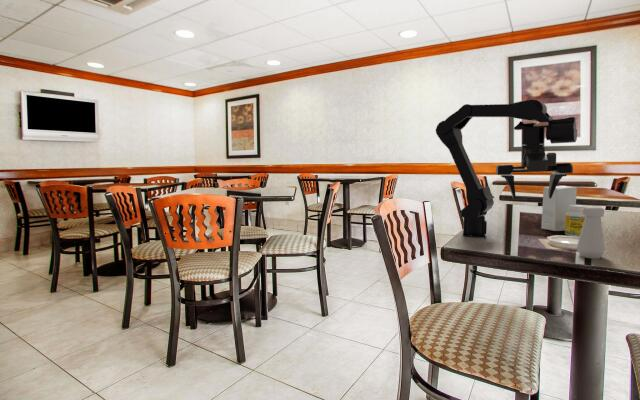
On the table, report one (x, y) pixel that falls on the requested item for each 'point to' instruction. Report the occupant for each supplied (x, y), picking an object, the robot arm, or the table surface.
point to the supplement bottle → (574, 220)
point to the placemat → (545, 243)
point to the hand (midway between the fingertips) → (531, 198)
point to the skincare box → (557, 207)
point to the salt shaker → (592, 234)
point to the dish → (563, 241)
